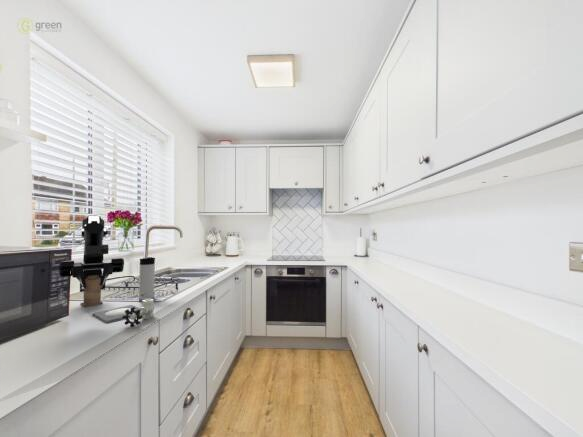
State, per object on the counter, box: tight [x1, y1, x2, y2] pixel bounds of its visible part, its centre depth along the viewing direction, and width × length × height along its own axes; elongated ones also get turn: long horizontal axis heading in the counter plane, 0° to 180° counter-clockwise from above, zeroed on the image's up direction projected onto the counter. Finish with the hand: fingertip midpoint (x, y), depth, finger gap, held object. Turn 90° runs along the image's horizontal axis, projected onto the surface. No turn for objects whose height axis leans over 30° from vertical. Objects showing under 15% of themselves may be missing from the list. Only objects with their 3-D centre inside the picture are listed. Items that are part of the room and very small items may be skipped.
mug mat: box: [91, 304, 141, 324], centre depth 105 cm, size 14×14×1 cm
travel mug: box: [138, 256, 156, 302], centre depth 126 cm, size 6×7×20 cm
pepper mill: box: [83, 275, 102, 308], centre depth 94 cm, size 5×5×10 cm
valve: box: [122, 299, 155, 328], centre depth 98 cm, size 7×7×12 cm
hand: (93, 286), depth 93 cm, fingers closed on pepper mill, 5 cm apart
